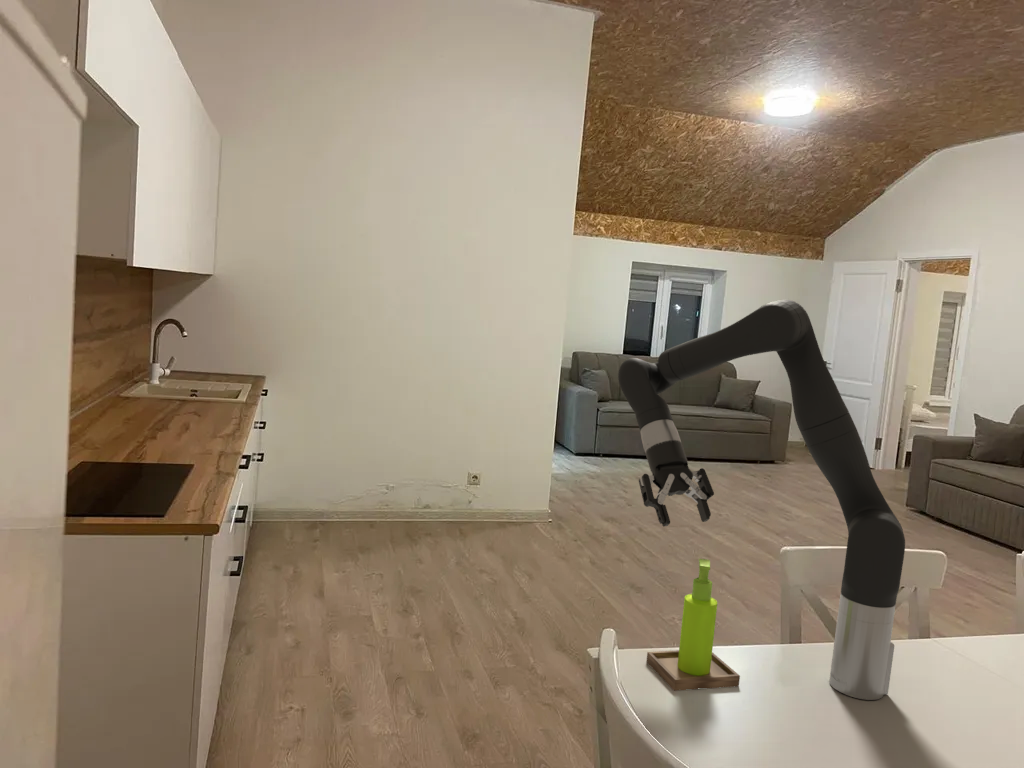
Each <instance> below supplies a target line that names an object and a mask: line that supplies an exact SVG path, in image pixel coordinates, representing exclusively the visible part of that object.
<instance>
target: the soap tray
mask: <svg viewBox="0 0 1024 768" xmlns="http://www.w3.org/2000/svg"><path fill="white" fill-rule="evenodd" d="M678 656H679V649H678V650H677V649H676V650H662V651H661V650H659V651H647V653H646V663H647V664H648V666H650V667H651V669H652V670H654V672H655V673H656V674H657V675H658V676H659V677H660V678H661V679H662V680H663V681H664V682H665V683H666V684H667V685H668V686H669V687H670V688H671V689H672V690H673V691H675V692H676V691H687V690H686V689H692V690H699V689H698V688H707V689H717V688H719V687H721V688H734V686H735V687H740V686H739V685H740V679H741V678H740V677H741V675H739V673H738V672H736V671H735V670H734V669H733V668H731V667H730V666H729V665H728V664H727V663H726V662H725V661H723V660H722V659H721V658H720V657H719V656H718V655H716V654H715V653H714V652H713V651H712V658H711V667H710V673H709V674H707V675H702V676H697V675H691V674H688V673H685V672H683V671H681V670H680V669H679V668H678ZM719 689H720V688H719Z"/></svg>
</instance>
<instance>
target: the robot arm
mask: <svg viewBox="0 0 1024 768" xmlns="http://www.w3.org/2000/svg"><path fill="white" fill-rule="evenodd" d="M770 352H776V353H777V355H778V357H779V359H780V361H781V362H782V365H783V367H784V369H785V372H786V374H787V377H788V381H789V384H790V392H791V399H792V400H791V401H792V407H793V412H794V413H793V414H794V418H795V422H796V425H797V428H798V431H800V434H801V436H802V439H803V441H804V442H805V445H806V447H807V449H808V452H809V453H810V456H811V457H812V458H813V460H814V462H815V463H816V465H817V467H818V468H819V470H820V471H821V473H822V474H823V475H824V477H825V479H826V480H827V481H828V484H830V486H831V488H832V490H833V492H834V493H835V495H836V497H837V500H838V502H839V506H840V508H841V511H842V514H843V517H844V520H845V523H846V526H847V530H848V531H847V532H848V533H847V534H848V535H847V536H848V537H847V543H846V550H845V551H846V552H845V559H844V568H843V573H842V579H841V588H840V596H839V601H838V602H839V603H838V612H837V618H836V625H835V635H834V640H833V641H834V642H833V649H832V658H831V662H830V663H831V664H830V674H829V680H828V682H829V684H830V686H831V687H832V688H833V689H835V690H836V691H838V692H839V693H842V694H843V695H846V696H848V697H851V698H852V697H853V698H855V699H859V700H867V701H876V700H880V699H882V698H883V696H885V695H889V688H890V681H891V674H892V667H893V660H894V652H895V644H894V643H893V642H892V640H891V639H892V633H893V628H894V619H895V611H896V604H897V598H898V594H899V591H900V585H901V578H902V572H903V565H904V558H905V552H906V537H905V534H904V530H903V526H902V524H901V522H900V521H899V520H898V518H897V516H896V515H895V513H894V512H893V510H892V509H891V507H890V505H889V503H888V501H887V500H886V499H885V497H884V495H883V493H882V492H881V490H880V488H879V486H878V485H877V484H878V483H877V482H876V480H875V478H874V475H873V473H872V470H871V467H870V463H869V459H868V456H867V454H866V450H865V448H864V444H863V442H862V439H861V437H860V434H859V432H858V428H857V427H856V424H855V423H854V420H853V418H852V415H851V413H850V412H849V409H848V407H847V405H846V403H845V401H844V399H843V398H842V395H841V392H840V391H839V389H838V387H837V384H836V382H835V380H834V378H833V377H832V374H831V372H830V370H829V368H828V366H827V365H826V362H825V359H824V358H823V354H822V351H821V349H820V346H819V344H818V339H817V337H816V334H815V331H814V328H813V325H812V322H811V319H810V316H809V315H808V312H807V310H806V309H804V307H803V306H802V305H801V304H800V303H798V302H796V301H793V300H791V299H779V300H773V301H771V302H767V303H765V304H763V305H761V306H760V307H758V308H757V309H755V310H753V311H752V312H751V313H749V314H748V315H746V316H745V317H743V318H741V319H739V320H737V321H736V322H734V323H732V324H730V325H728V326H726V327H724V328H722V329H720V330H717V331H715V332H712V333H707V334H706V335H703V336H699V337H696V338H693V339H690V340H688V341H685V342H683V343H680V344H677V345H675V346H672V347H670V348H667V349H666V350H663V351H662V352H661V353H660V354H659V356H658V359H657V362H649V361H646V360H643V359H641V358H637V357H630V358H627V359H625V360H624V361H622V363H621V364H620V366H619V368H618V373H617V376H618V377H617V379H618V383H619V386H620V389H621V391H622V393H623V396H624V397H625V399H626V401H627V403H628V404H629V406H630V408H631V409H632V410H633V412H634V414H635V418H636V422H637V425H638V428H639V433H640V437H641V442H642V446H643V451H644V454H645V456H646V459H647V463H648V467H649V470H650V472H651V473H652V475H649V474H647V473H643V475H642V476H640V478H639V479H638V483H639V488H640V492H641V497H642V501H643V505H644V507H646V508H647V507H651V508H653V509H654V510H655V512H656V516H657V519H658V522H659V524H660V525H661V526H662V527H668V526H669V525H670V524H671V519H670V516H669V513H668V509H667V505H666V504H664V503H665V501H666V498H667V496H668V497H671V496H672V497H673V496H675V495H677V496H681V495H682V496H683V495H685V496H686V497H687V498H690V499H692V500H693V501H694V502H695V503H696V507H697V511H698V514H699V517H700V521H701V522H702V523H707V522H708V521H709V520H710V517H711V515H712V513H711V510H710V507H709V504H708V501H709V500H710V498H712V497H713V496H714V495H715V492H714V489H713V487H712V485H711V482H710V480H709V477H708V474H707V471H706V470H705V469H704V468H703V467H701V468H700V469H698V470H695V471H694V470H693V471H692V470H691V469H690V468H689V462H688V458H687V455H686V452H685V449H684V446H683V444H682V441H681V437H680V434H679V432H678V429H677V427H676V425H675V423H674V419H673V416H672V413H671V410H670V407H669V406H668V403H667V401H666V400H665V399H664V398H663V397H661V396H660V395H659V394H661V393H663V392H665V391H666V390H668V389H670V388H671V387H672V386H674V385H676V383H678V382H680V381H683V380H684V381H685V380H687V379H689V378H692V377H695V376H698V375H701V374H703V373H706V372H708V371H710V370H712V369H715V368H716V367H717V368H718V367H719V366H720V365H722V364H725V363H727V362H730V361H733V360H736V359H740V358H742V357H747V356H752V355H759V354H765V353H770ZM693 479H694V481H693ZM695 482H696V483H695ZM653 484H654V485H655V486H656V487H657V488H658V491H657V492H656V496H654V492H653V488H652V486H653Z"/></svg>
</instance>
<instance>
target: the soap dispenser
mask: <svg viewBox="0 0 1024 768" xmlns="http://www.w3.org/2000/svg"><path fill="white" fill-rule="evenodd" d="M698 566H699V567H698V568H699V571H698V572H699V573H698V577H695V578H694V579H693V581H692V582H693V584H692V591H691V593H689V594H685V596H684V599H683V600H684V601H683V610H682V617H681V618H682V620H681V626H680V627H681V629H680V639H679V648H678V650H679V656H678V668H679V669H680V670H681V671H683V672H685V673H688V674H691V675H697V676H702V675H707V674H709V673H710V667H711V658H712V652H713V647H714V640H715V639H714V638H715V637H714V636H715V628H716V618H717V609H718V601H717V599H715V598H714V597H712V592H713V591H712V590H713V582H712V580H710V579H709V574H710V570H711V561H710V559H705V558H698Z"/></svg>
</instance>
